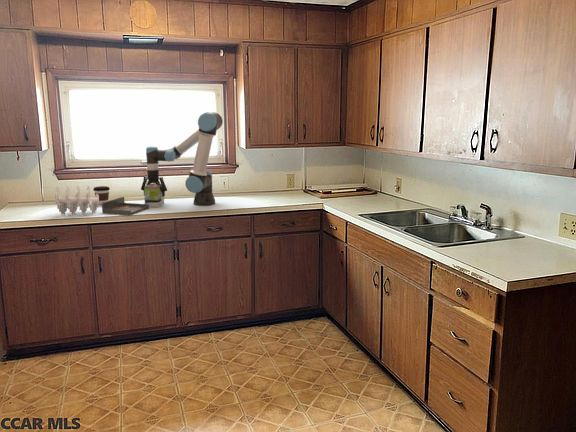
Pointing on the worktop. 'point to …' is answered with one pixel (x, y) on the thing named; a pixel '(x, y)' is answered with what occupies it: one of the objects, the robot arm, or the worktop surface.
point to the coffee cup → (102, 193)
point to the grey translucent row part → (76, 202)
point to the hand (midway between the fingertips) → (154, 200)
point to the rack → (122, 207)
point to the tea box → (153, 195)
